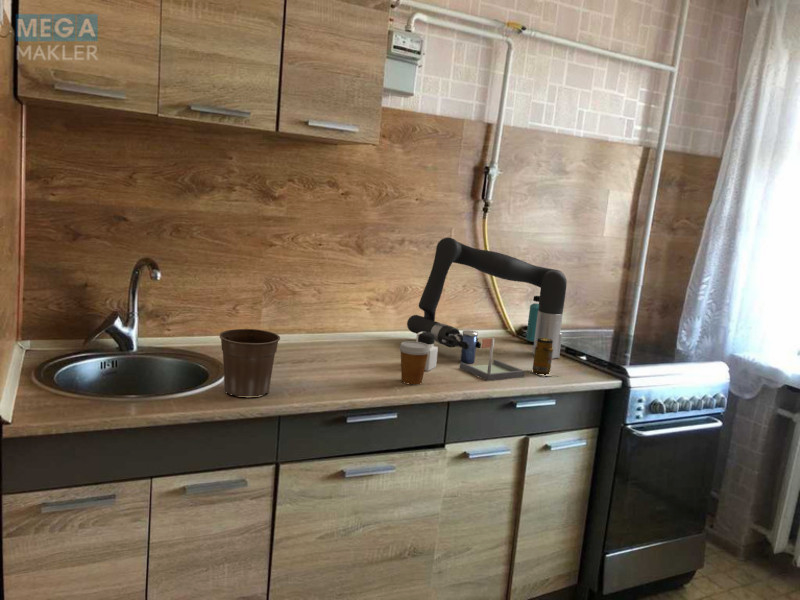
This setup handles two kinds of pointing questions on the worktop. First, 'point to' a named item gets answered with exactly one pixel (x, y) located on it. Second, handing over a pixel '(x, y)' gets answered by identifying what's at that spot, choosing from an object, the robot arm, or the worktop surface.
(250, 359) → the plant pot
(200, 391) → the worktop surface
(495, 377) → the green tray
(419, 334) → the medicine bottle
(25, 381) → the worktop surface
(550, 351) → the condiment
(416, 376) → the disposable coffee cup
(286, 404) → the worktop surface
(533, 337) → the beverage bottle
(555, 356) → the robot arm
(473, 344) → the navy canister
